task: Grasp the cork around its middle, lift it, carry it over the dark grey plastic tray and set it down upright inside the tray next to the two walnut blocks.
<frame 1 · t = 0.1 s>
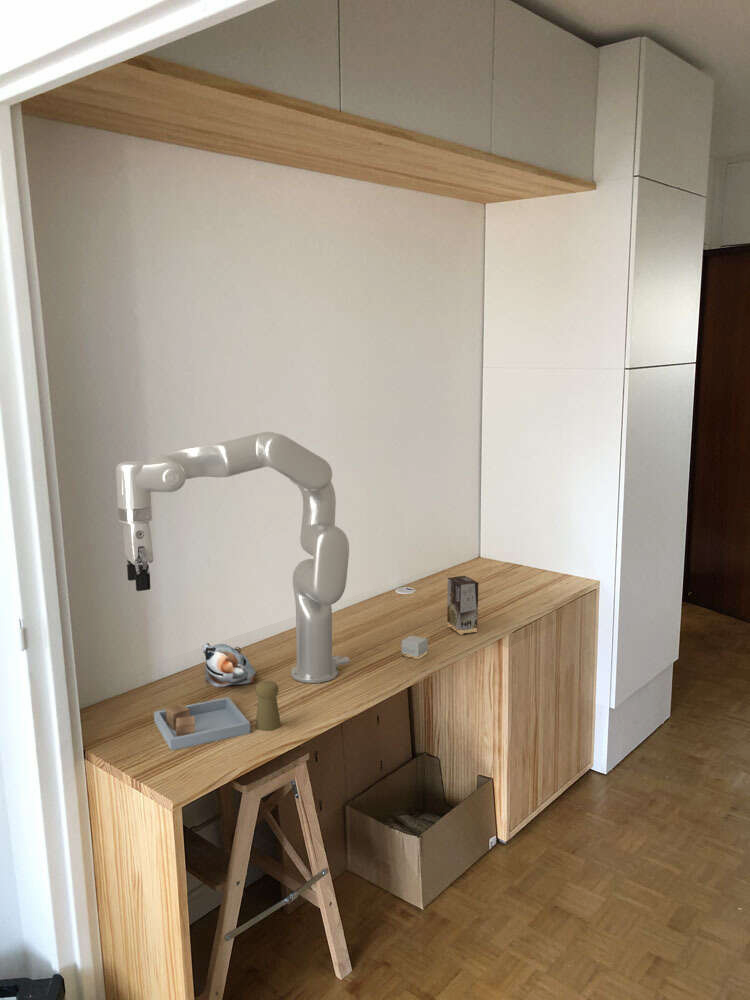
hand: (139, 584, 197), 31 cm above the worktop, tool pointing down, fingers open, 9 cm apart
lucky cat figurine: (230, 683, 218), on the worktop
tray: (201, 729, 191), on the worktop
walnut block a: (178, 725, 192), point 1 cm above the worktop, touching tray
coffee box: (462, 630, 259), on the worktop
cork: (268, 728, 192), on the worktop
walnut block b: (186, 737, 186), point 1 cm above the worktop, touching tray
small box: (414, 656, 237), on the worktop
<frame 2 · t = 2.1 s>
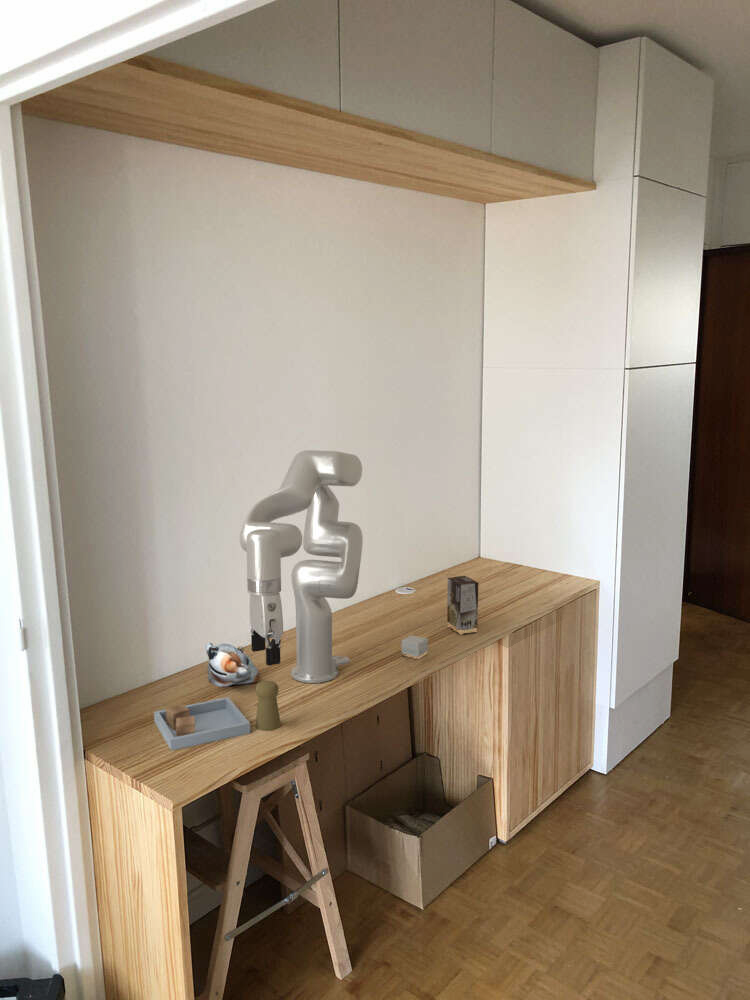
hand: (265, 657, 189), 17 cm above the worktop, tool pointing down, fingers open, 9 cm apart
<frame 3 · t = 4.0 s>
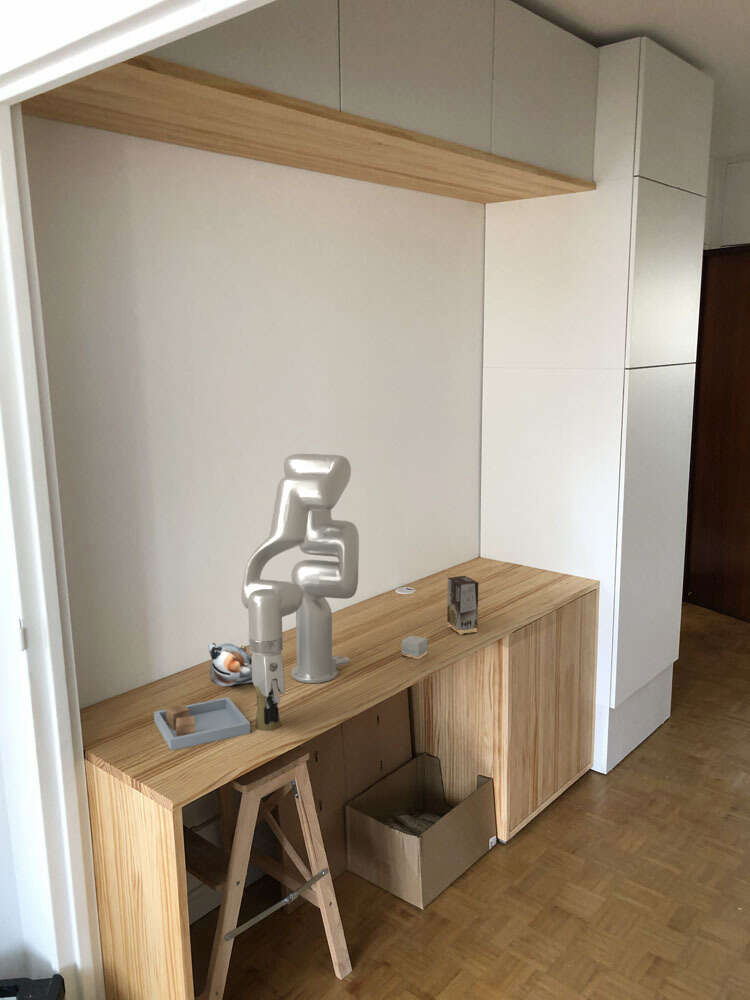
hand: (267, 718, 192), 2 cm above the worktop, tool pointing down, fingers closed on cork, 3 cm apart
cork: (268, 728, 192), on the worktop, touching gripper
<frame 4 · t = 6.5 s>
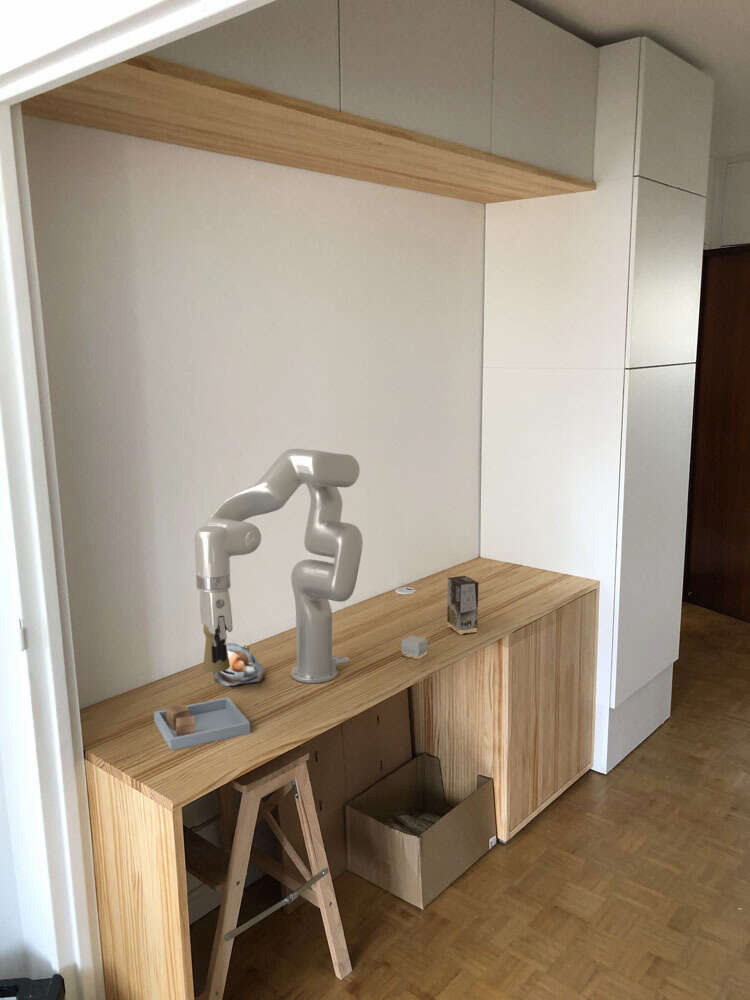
hand: (216, 657, 190), 17 cm above the worktop, tool pointing down, fingers closed on cork, 3 cm apart
cork: (216, 667, 191), point 14 cm above the worktop, touching gripper
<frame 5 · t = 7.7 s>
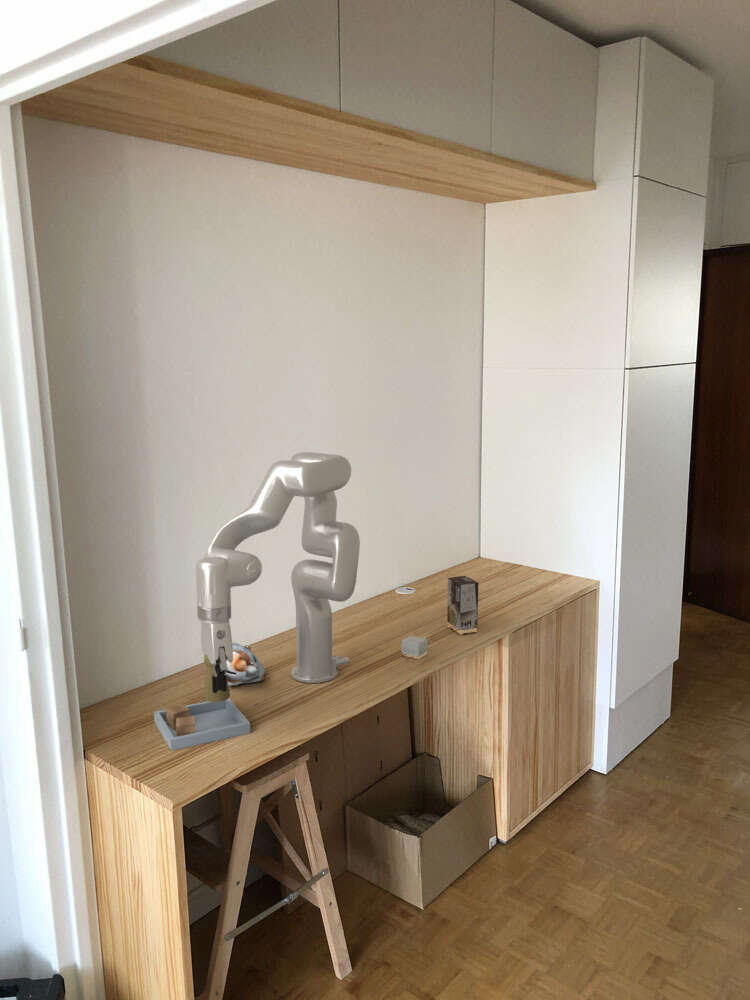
hand: (216, 687, 191), 10 cm above the worktop, tool pointing down, fingers closed on cork, 3 cm apart
cork: (216, 697, 192), point 7 cm above the worktop, touching gripper
when the fingers open (5 cm above the worktop, at t = 8.9 s): cork drops 2 cm, resting on tray.
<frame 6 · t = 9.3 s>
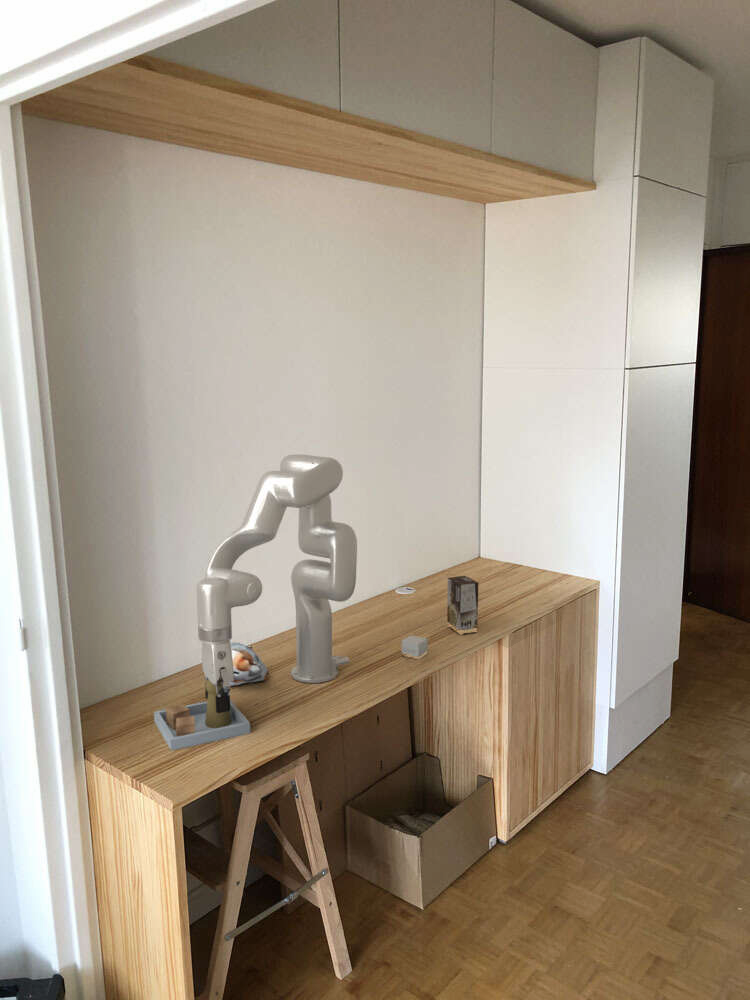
hand: (217, 704, 192), 5 cm above the worktop, tool pointing down, fingers open, 7 cm apart
cork: (218, 723, 194), resting on tray
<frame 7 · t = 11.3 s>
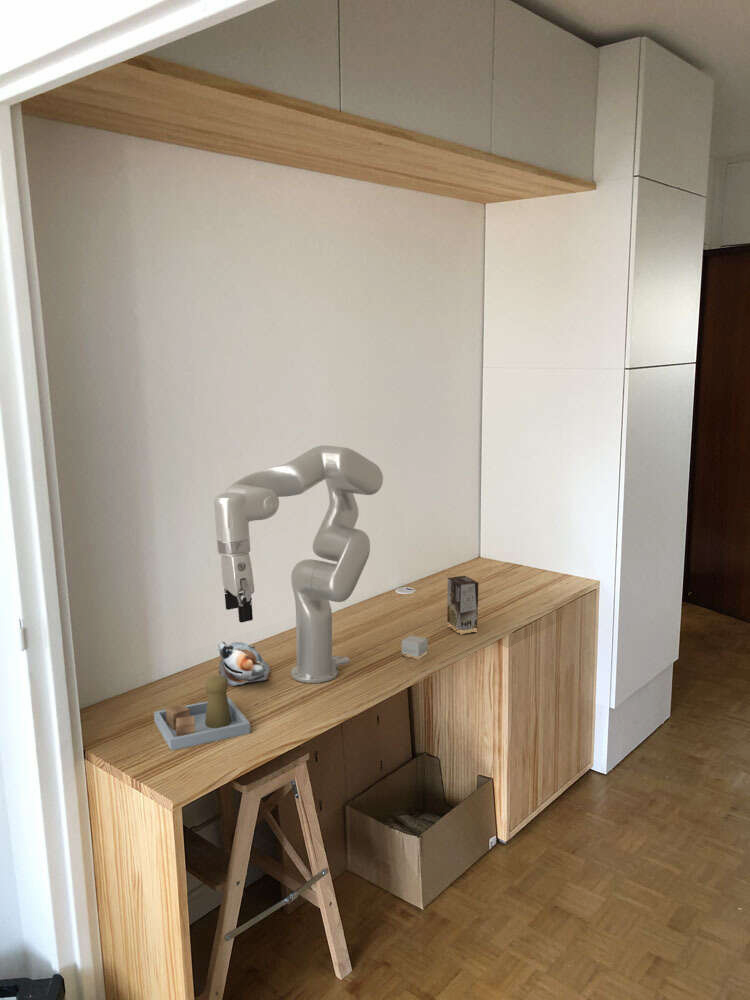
hand: (239, 614, 198), 24 cm above the worktop, tool pointing down, fingers open, 9 cm apart
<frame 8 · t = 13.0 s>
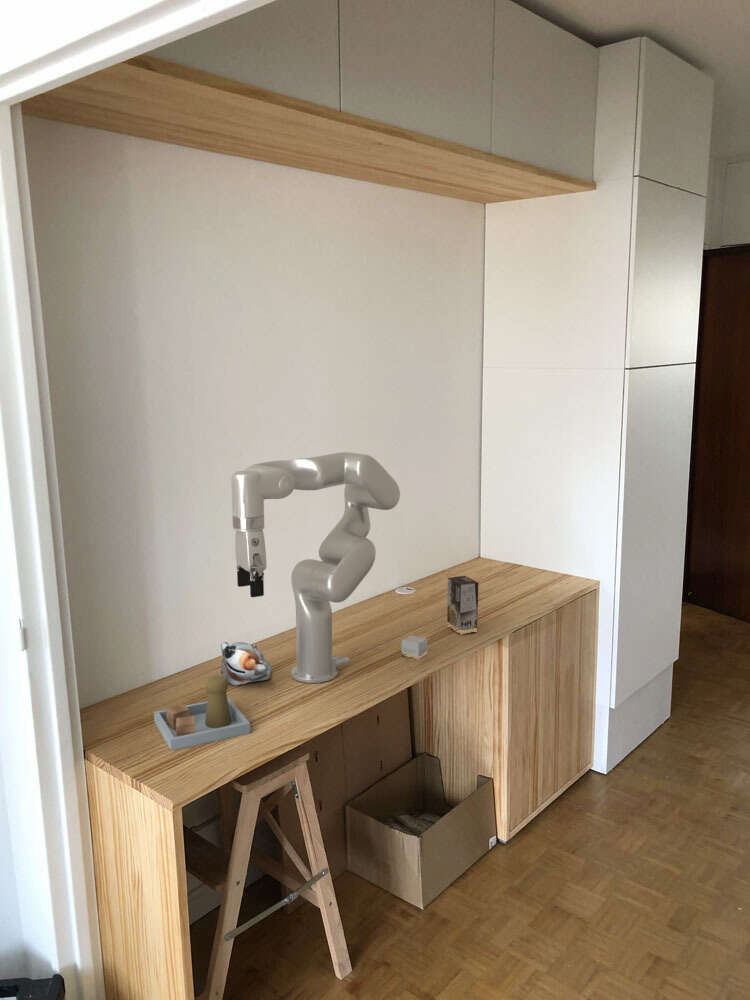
hand: (250, 591, 202), 28 cm above the worktop, tool pointing down, fingers open, 9 cm apart
at the end: cork inside the target area on the tray (4.1 cm from its centre), point 0.4 cm above the tray's base; cork tilted 0°; the gripper is holding nothing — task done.
